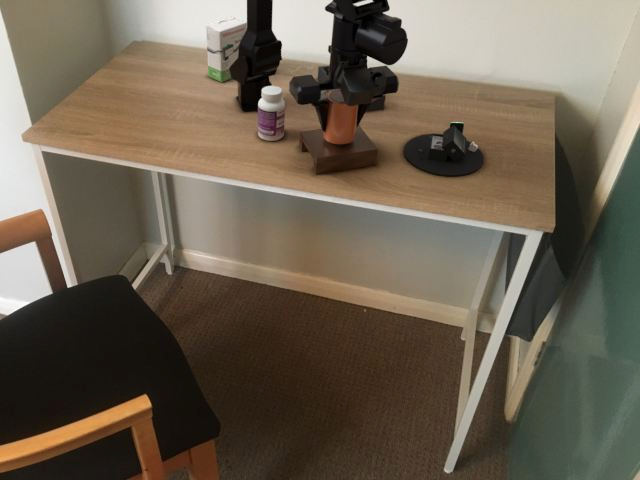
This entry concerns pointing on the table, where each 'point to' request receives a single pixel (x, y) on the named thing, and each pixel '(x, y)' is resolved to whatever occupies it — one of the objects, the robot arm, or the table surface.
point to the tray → (374, 105)
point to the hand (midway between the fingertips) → (339, 128)
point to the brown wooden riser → (338, 151)
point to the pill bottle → (271, 114)
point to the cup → (340, 119)
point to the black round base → (444, 153)
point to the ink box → (223, 46)
